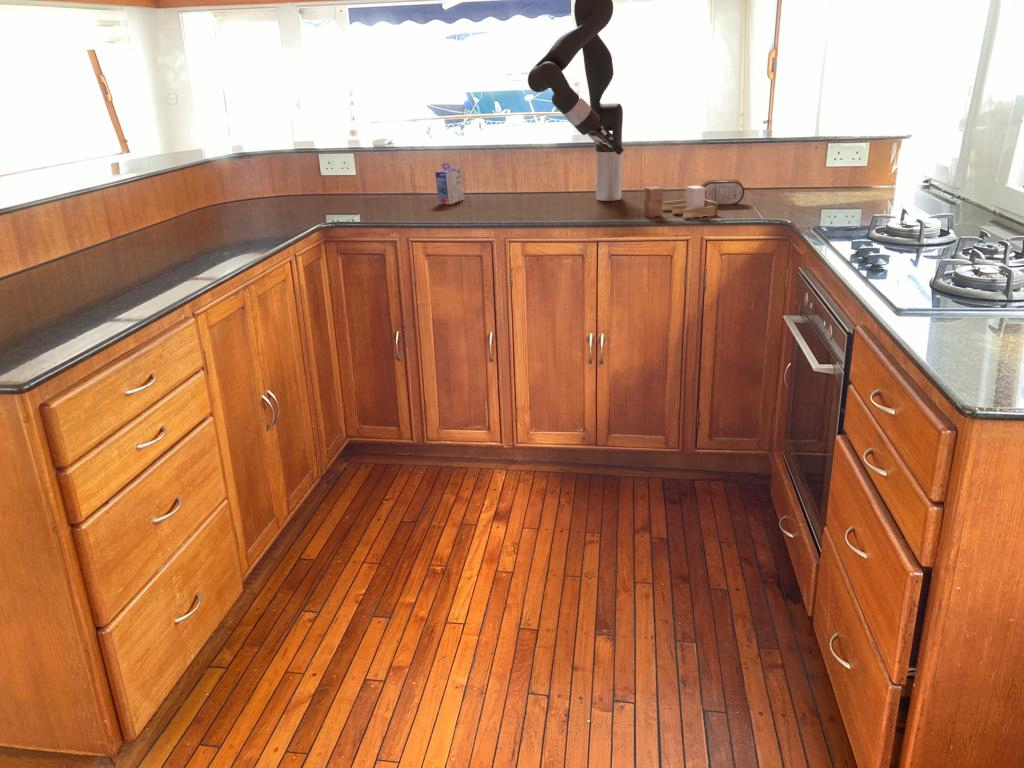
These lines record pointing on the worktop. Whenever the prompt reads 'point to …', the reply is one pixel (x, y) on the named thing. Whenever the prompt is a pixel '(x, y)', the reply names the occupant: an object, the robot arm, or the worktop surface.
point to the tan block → (652, 201)
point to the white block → (695, 197)
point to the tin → (724, 191)
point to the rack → (680, 207)
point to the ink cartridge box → (449, 185)
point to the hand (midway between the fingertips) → (615, 151)
